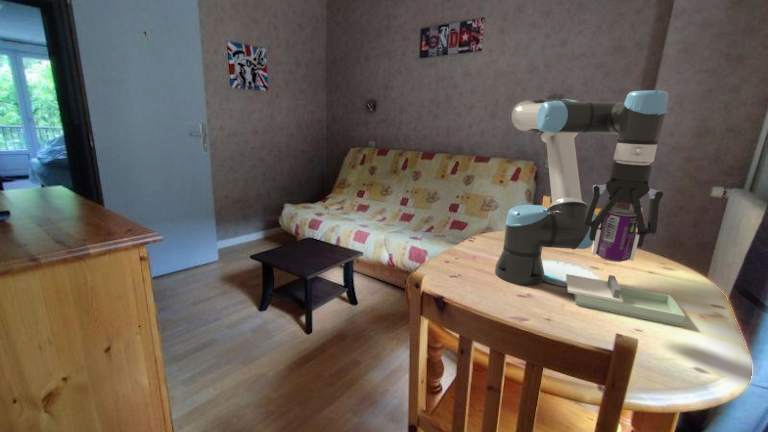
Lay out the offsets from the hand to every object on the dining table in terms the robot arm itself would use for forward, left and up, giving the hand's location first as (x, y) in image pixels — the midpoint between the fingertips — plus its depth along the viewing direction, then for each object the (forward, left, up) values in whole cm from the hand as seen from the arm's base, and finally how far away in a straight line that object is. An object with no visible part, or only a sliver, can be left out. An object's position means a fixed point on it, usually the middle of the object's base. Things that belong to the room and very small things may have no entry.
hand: (611, 255), depth 85 cm
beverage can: (0, 0, -1) cm, 1 cm away
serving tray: (+7, +12, -18) cm, 22 cm away
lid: (-1, +12, -15) cm, 19 cm away
